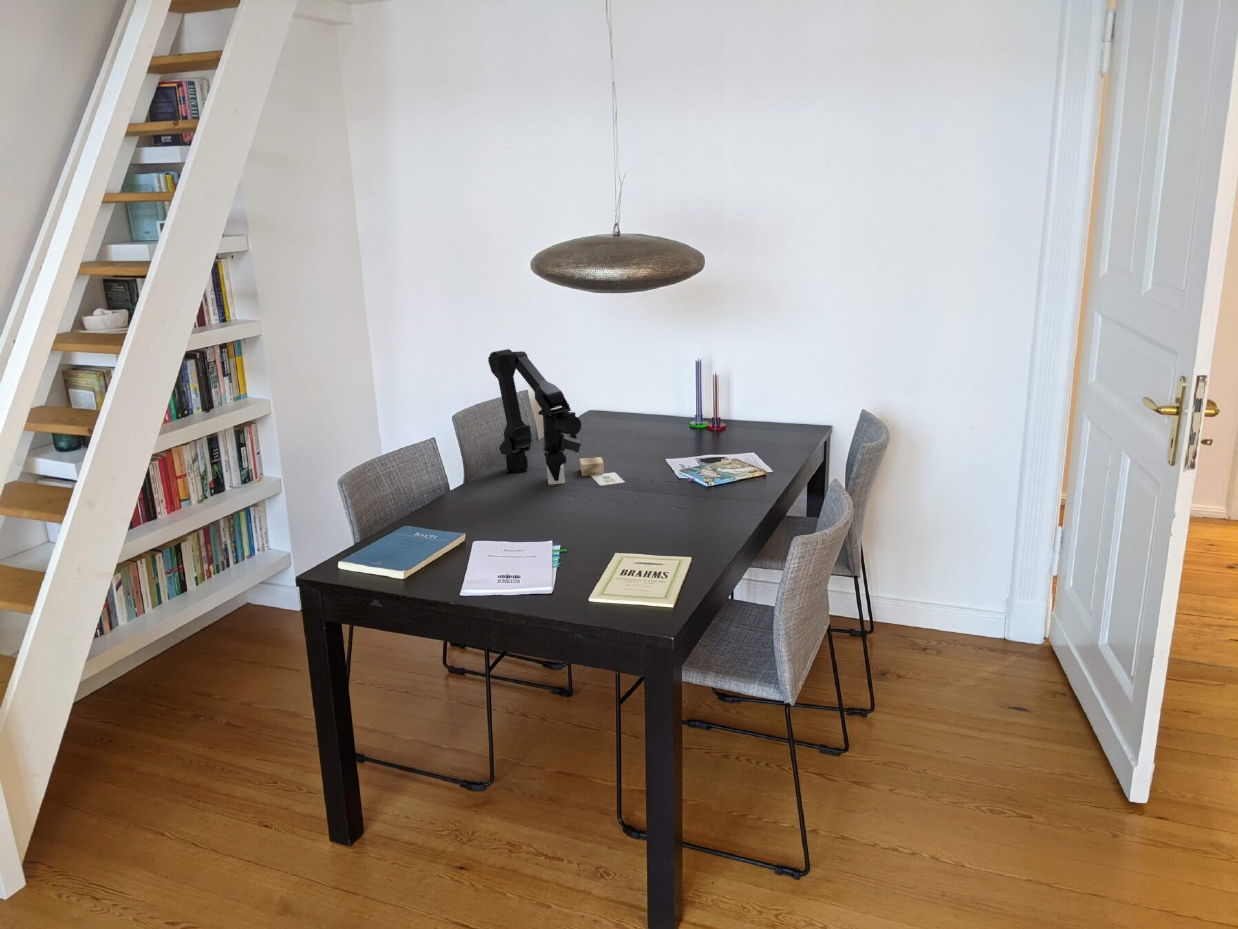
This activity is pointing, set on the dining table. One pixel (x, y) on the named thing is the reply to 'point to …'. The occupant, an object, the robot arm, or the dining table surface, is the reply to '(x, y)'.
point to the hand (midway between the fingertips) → (556, 478)
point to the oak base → (591, 466)
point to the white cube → (561, 476)
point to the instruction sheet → (607, 479)
